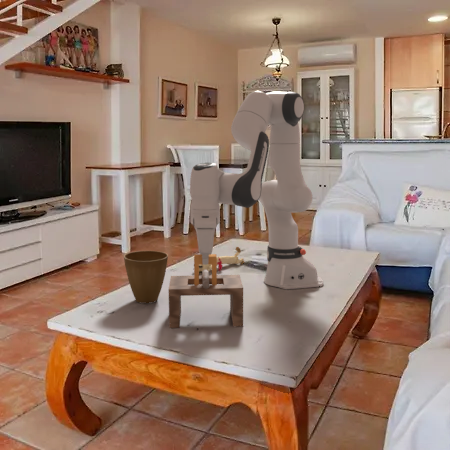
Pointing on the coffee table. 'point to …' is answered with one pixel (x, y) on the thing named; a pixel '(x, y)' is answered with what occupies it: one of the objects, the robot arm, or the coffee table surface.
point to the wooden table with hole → (186, 288)
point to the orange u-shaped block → (211, 260)
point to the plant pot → (146, 274)
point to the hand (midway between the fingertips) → (205, 262)
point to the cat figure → (224, 261)
